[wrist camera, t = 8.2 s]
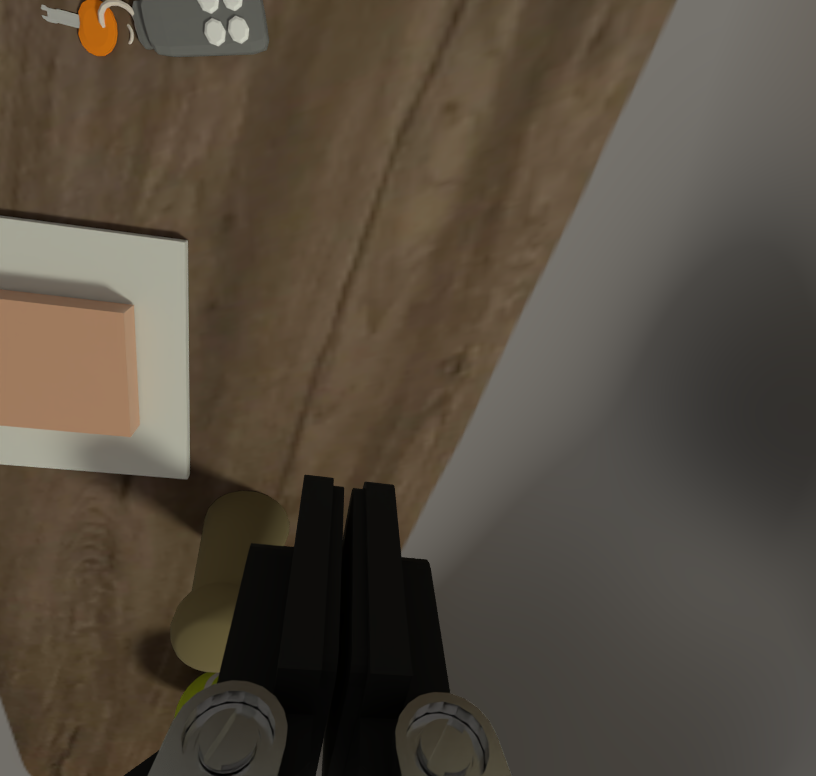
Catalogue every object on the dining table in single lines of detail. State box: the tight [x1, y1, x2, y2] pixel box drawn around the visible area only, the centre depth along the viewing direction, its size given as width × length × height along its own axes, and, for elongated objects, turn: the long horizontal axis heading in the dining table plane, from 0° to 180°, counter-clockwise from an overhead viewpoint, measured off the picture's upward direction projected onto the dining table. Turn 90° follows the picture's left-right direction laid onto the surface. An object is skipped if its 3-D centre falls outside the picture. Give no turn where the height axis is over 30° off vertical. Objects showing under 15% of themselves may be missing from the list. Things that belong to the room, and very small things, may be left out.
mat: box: [0, 215, 190, 479], centre depth 35 cm, size 16×12×1 cm
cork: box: [170, 491, 290, 673], centre depth 37 cm, size 6×6×11 cm
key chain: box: [41, 0, 269, 57], centre depth 28 cm, size 13×4×2 cm, turn 96°
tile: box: [0, 289, 140, 437], centre depth 34 cm, size 8×2×8 cm
